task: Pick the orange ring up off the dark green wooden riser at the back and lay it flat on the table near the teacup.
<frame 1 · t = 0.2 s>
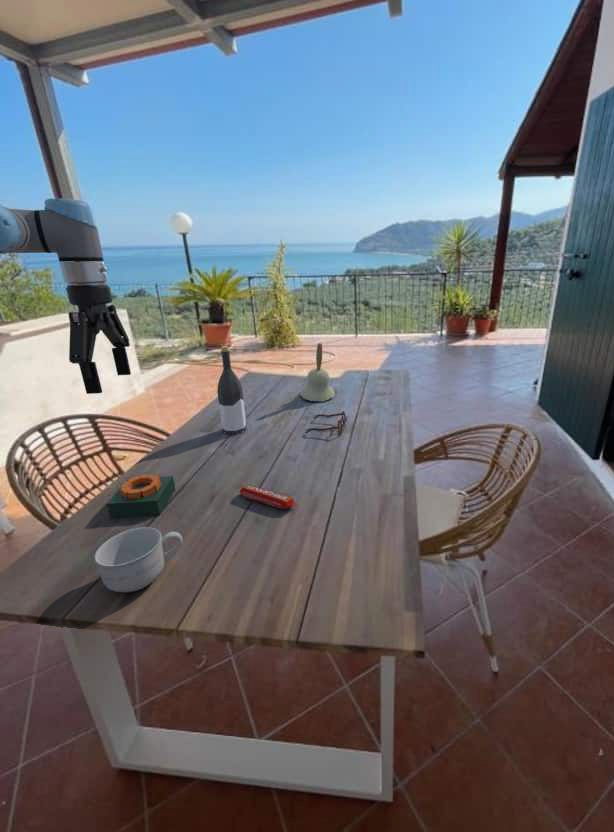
hand: (110, 383, 87), 31 cm above the table, tool pointing down, fingers open, 13 cm apart
handbell: (317, 397, 170), on the table
teacup: (147, 577, 74), on the table
riser: (144, 502, 96), on the table
wine bottle: (234, 430, 137), on the table
ring: (141, 488, 95), point 4 cm above the table, touching riser
glasses: (325, 428, 138), on the table
candy bar: (266, 502, 97), on the table
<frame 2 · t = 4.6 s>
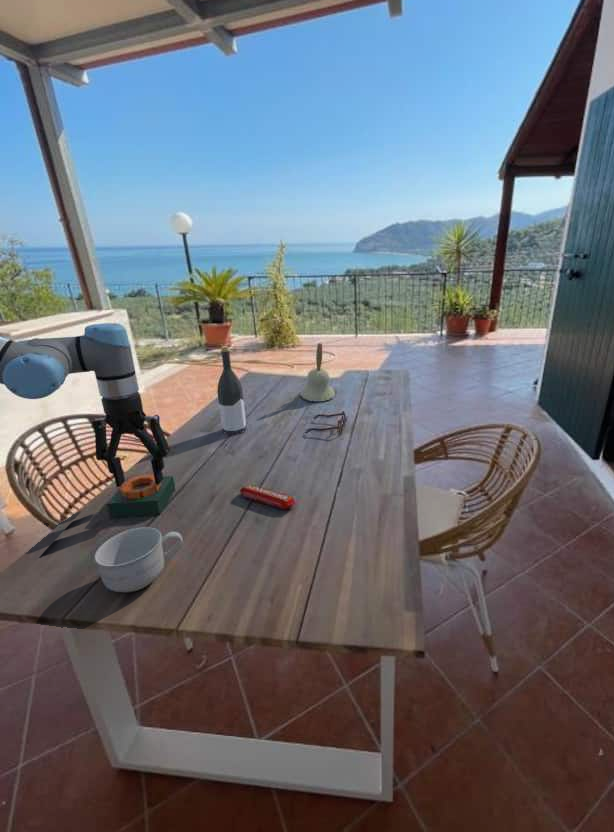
hand: (140, 482, 94), 6 cm above the table, tool pointing down, fingers closed on ring, 8 cm apart
ring: (141, 488, 95), point 4 cm above the table, touching gripper, riser
everything else where it was.
when the fingers open (2 cm above the table, at t = 10.6 s): ring stays where it is, on the table.
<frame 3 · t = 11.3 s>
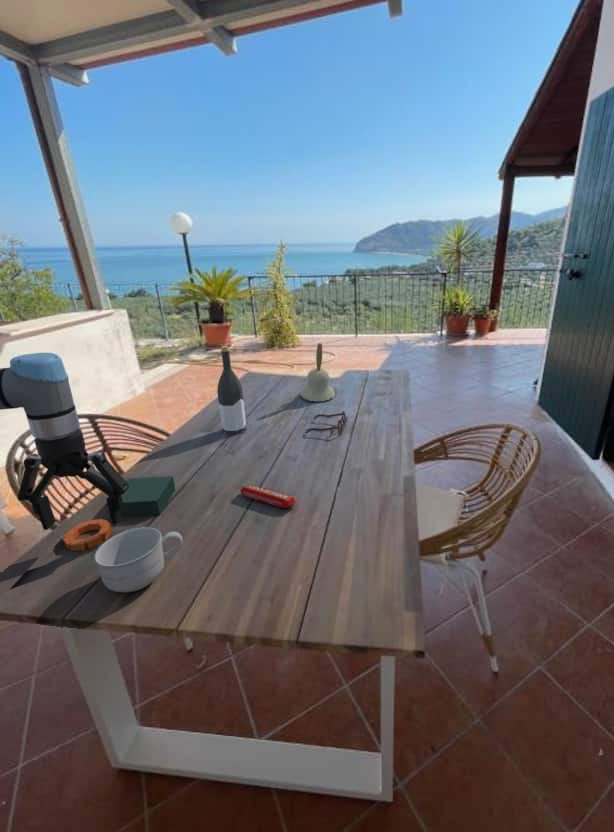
hand: (84, 523, 83), 4 cm above the table, tool pointing down, fingers open, 13 cm apart
ring: (88, 537, 84), on the table
everything else where it was.
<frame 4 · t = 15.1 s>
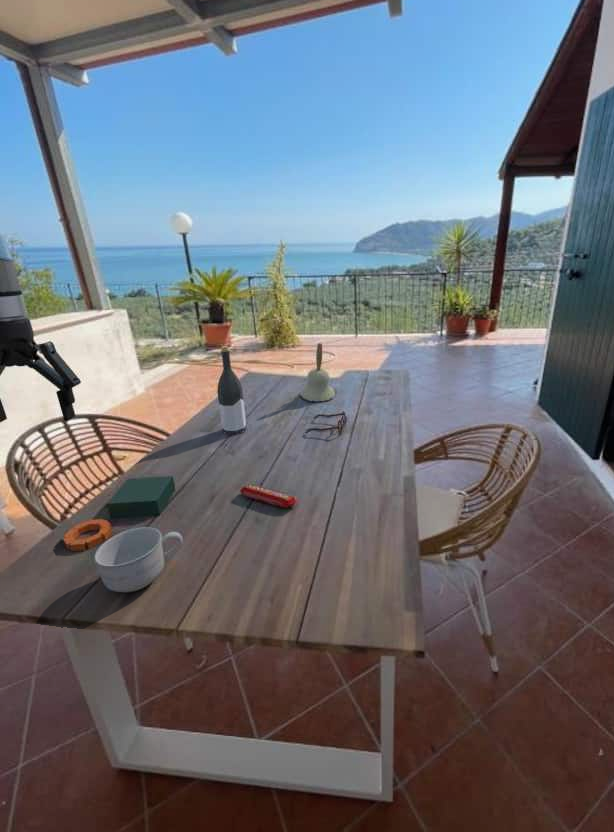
hand: (35, 420, 82), 25 cm above the table, tool pointing down, fingers open, 13 cm apart
nothing on the table moved.
at the end: ring touching table; ring 21.3 cm from the teacup (horizontally); ring tilted 0° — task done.
